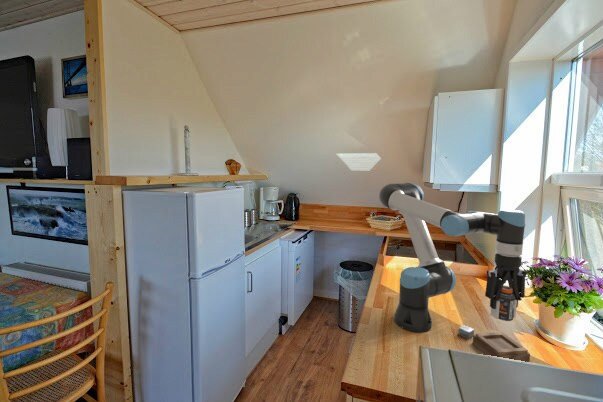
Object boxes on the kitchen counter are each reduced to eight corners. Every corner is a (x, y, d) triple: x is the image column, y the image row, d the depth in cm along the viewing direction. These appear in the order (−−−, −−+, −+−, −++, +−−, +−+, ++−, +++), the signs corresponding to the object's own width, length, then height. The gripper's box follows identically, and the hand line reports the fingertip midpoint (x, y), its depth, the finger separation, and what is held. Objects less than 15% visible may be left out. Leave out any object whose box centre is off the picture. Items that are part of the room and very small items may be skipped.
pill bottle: (489, 315, 102) (491, 285, 101) (499, 311, 104) (501, 282, 103) (506, 323, 97) (509, 292, 95) (517, 319, 99) (519, 289, 98)
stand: (497, 364, 96) (498, 353, 95) (472, 342, 107) (473, 333, 107) (529, 361, 97) (530, 351, 96) (501, 340, 109) (502, 331, 108)
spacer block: (468, 339, 110) (469, 332, 109) (458, 334, 113) (458, 327, 113) (473, 336, 112) (474, 329, 112) (463, 331, 115) (463, 324, 115)
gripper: (491, 258, 93) (486, 323, 96) (542, 256, 95) (536, 320, 98) (475, 251, 101) (471, 312, 103) (523, 250, 103) (517, 309, 105)
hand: (502, 316), depth 101 cm, fingers closed on pill bottle, 6 cm apart
